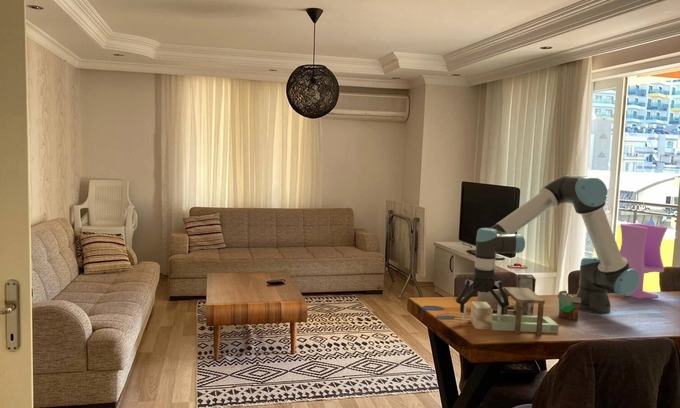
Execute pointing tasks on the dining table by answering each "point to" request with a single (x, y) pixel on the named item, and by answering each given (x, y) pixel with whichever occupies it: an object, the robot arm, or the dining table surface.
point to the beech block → (481, 315)
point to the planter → (490, 298)
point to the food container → (568, 306)
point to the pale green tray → (524, 323)
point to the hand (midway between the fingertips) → (481, 321)
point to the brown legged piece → (525, 305)
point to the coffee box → (526, 282)
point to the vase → (642, 252)
